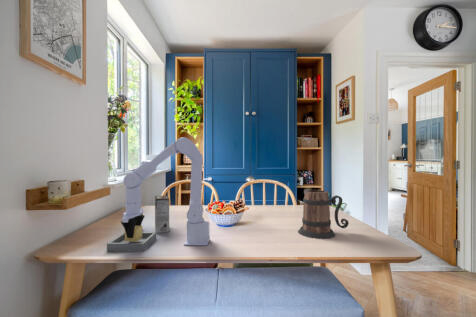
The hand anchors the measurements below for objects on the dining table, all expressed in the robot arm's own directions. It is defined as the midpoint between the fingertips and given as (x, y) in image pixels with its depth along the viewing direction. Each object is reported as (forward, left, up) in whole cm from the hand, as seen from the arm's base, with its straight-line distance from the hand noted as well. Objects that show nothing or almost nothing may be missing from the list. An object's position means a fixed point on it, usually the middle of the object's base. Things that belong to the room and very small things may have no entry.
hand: (133, 235), depth 98 cm
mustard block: (0, 0, -2) cm, 2 cm away
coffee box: (-5, -20, -4) cm, 21 cm away
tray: (0, 0, -4) cm, 4 cm away
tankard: (-83, -17, -4) cm, 85 cm away
